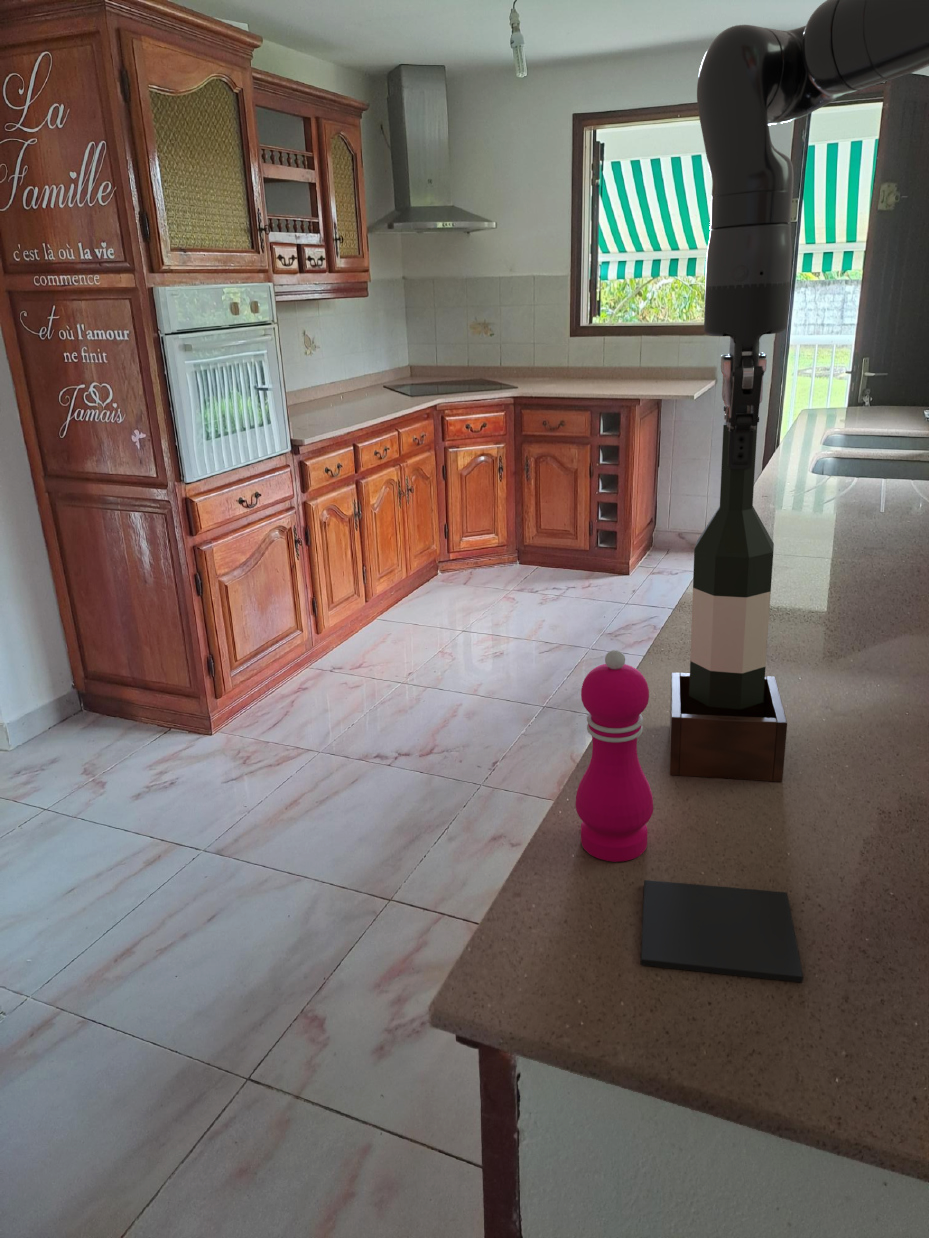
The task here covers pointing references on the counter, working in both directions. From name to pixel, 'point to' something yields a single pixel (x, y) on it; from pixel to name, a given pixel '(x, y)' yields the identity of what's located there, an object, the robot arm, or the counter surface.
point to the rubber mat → (719, 931)
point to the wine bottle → (731, 596)
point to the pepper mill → (614, 763)
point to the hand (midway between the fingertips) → (738, 464)
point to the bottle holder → (727, 736)
